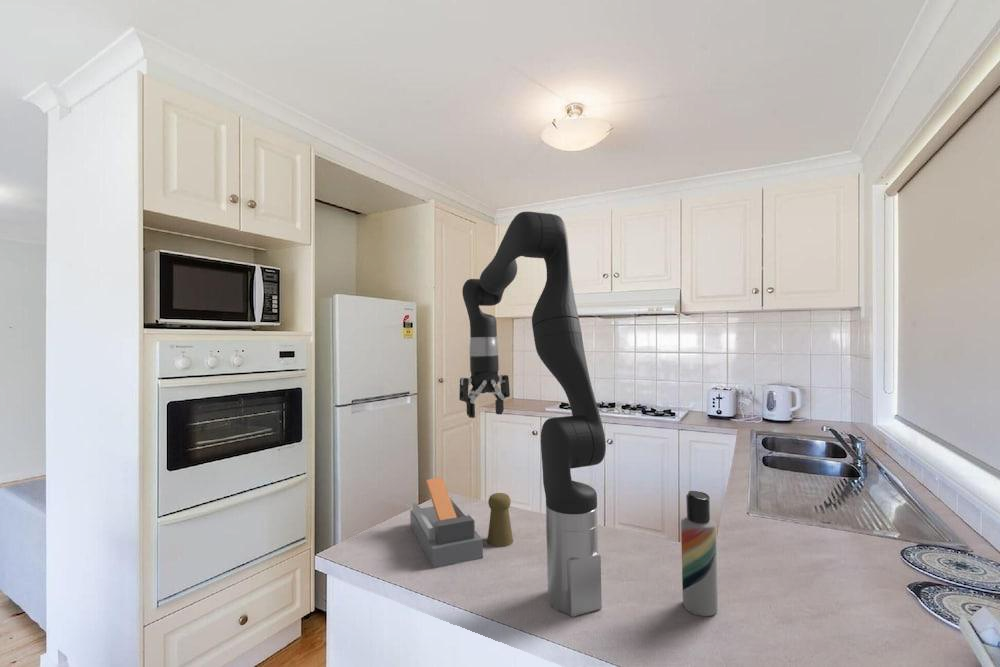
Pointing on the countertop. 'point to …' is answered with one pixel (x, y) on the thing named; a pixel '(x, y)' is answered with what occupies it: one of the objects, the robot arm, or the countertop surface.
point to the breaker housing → (446, 535)
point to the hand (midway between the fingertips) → (485, 415)
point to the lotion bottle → (699, 556)
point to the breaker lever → (440, 499)
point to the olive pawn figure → (499, 521)
